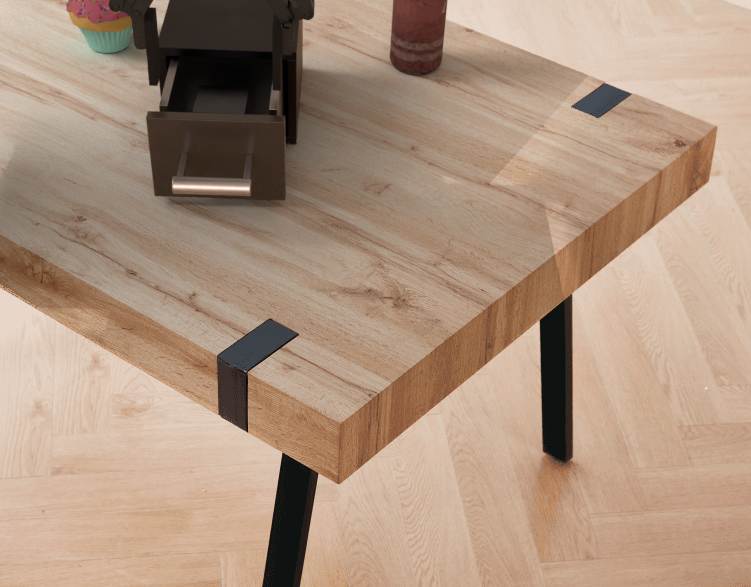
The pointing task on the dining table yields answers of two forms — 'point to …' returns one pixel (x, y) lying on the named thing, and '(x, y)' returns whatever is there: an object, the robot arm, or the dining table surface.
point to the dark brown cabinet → (231, 41)
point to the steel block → (222, 100)
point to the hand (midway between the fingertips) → (216, 80)
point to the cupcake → (101, 24)
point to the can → (417, 35)
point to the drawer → (219, 133)
